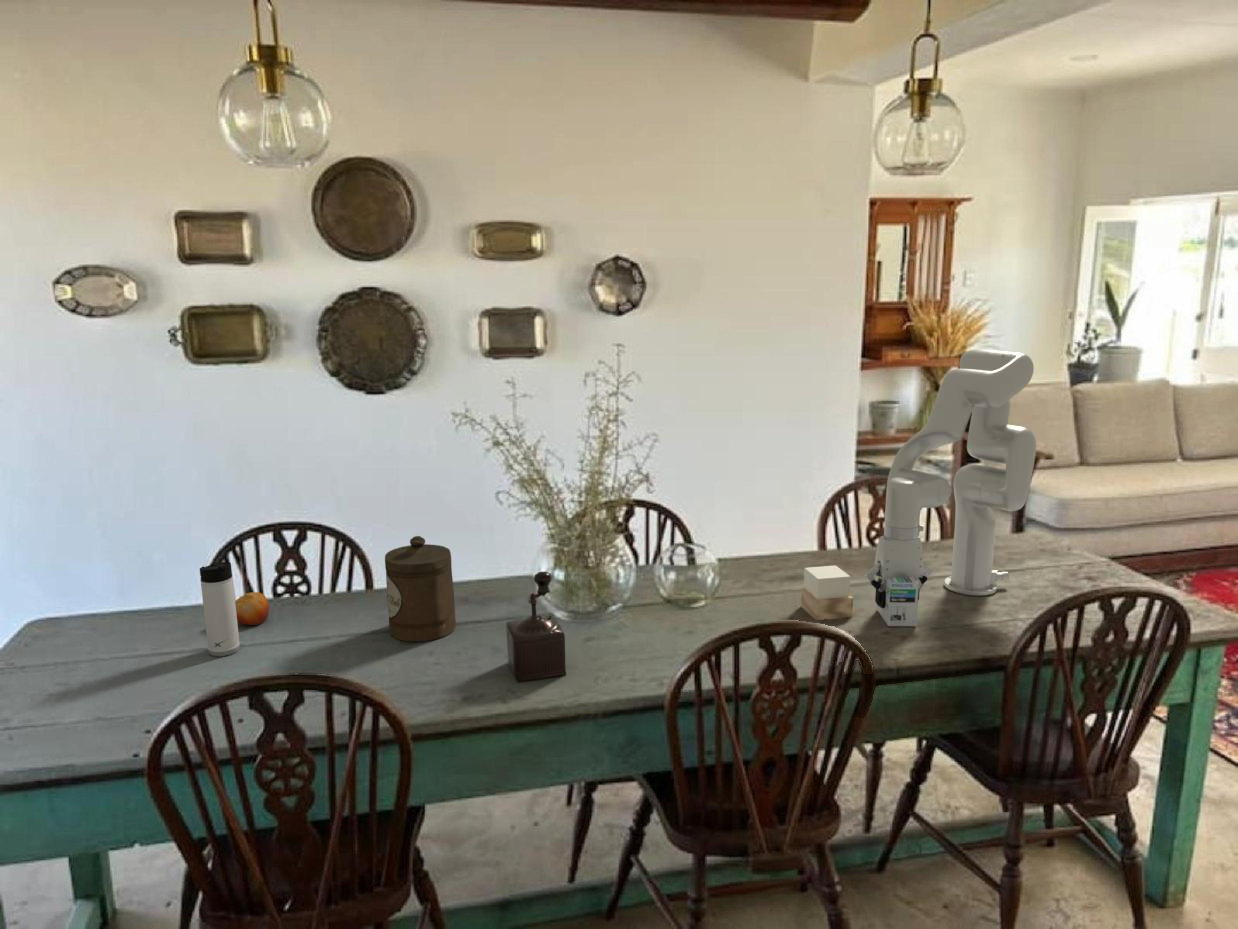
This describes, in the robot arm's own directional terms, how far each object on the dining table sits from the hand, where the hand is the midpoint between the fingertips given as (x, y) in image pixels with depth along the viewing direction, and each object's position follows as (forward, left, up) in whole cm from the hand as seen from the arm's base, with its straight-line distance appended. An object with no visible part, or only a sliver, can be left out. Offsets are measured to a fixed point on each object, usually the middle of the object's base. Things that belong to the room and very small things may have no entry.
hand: (896, 604), depth 217 cm
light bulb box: (0, 0, -4) cm, 4 cm away
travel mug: (+150, -15, -4) cm, 151 cm away
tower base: (+14, -7, -4) cm, 16 cm away
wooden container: (+108, -18, -4) cm, 109 cm away
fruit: (+147, -31, -4) cm, 150 cm away
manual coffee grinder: (+85, +6, -4) cm, 85 cm away
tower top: (+14, -8, +1) cm, 16 cm away
